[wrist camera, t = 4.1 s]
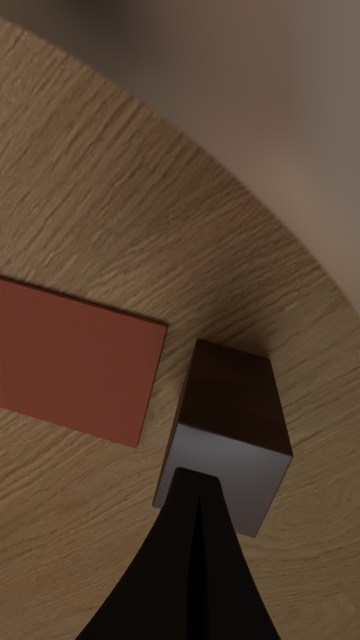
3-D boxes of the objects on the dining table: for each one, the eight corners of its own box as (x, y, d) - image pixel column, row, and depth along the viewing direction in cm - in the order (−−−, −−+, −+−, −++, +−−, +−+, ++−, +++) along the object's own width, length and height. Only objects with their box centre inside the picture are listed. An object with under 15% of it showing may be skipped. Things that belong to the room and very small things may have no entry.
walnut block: (270, 359, 20) (294, 456, 12) (246, 420, 21) (255, 539, 14) (197, 338, 20) (176, 421, 13) (178, 400, 22) (151, 506, 14)
